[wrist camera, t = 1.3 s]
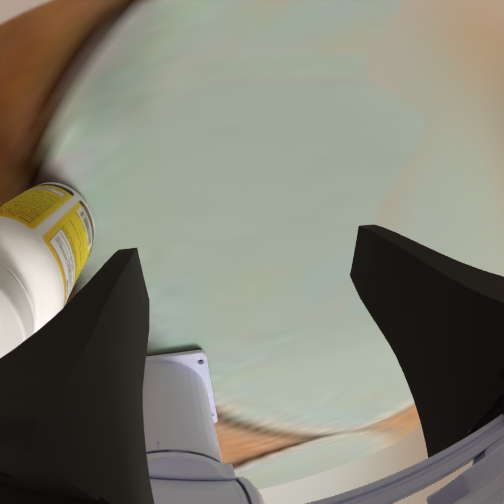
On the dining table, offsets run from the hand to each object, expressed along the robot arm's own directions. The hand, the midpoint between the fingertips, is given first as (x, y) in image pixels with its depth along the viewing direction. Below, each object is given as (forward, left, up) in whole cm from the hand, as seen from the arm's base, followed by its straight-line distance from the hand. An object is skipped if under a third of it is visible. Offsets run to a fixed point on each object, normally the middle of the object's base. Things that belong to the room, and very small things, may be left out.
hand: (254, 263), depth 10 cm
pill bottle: (-1, +11, -11) cm, 15 cm away
